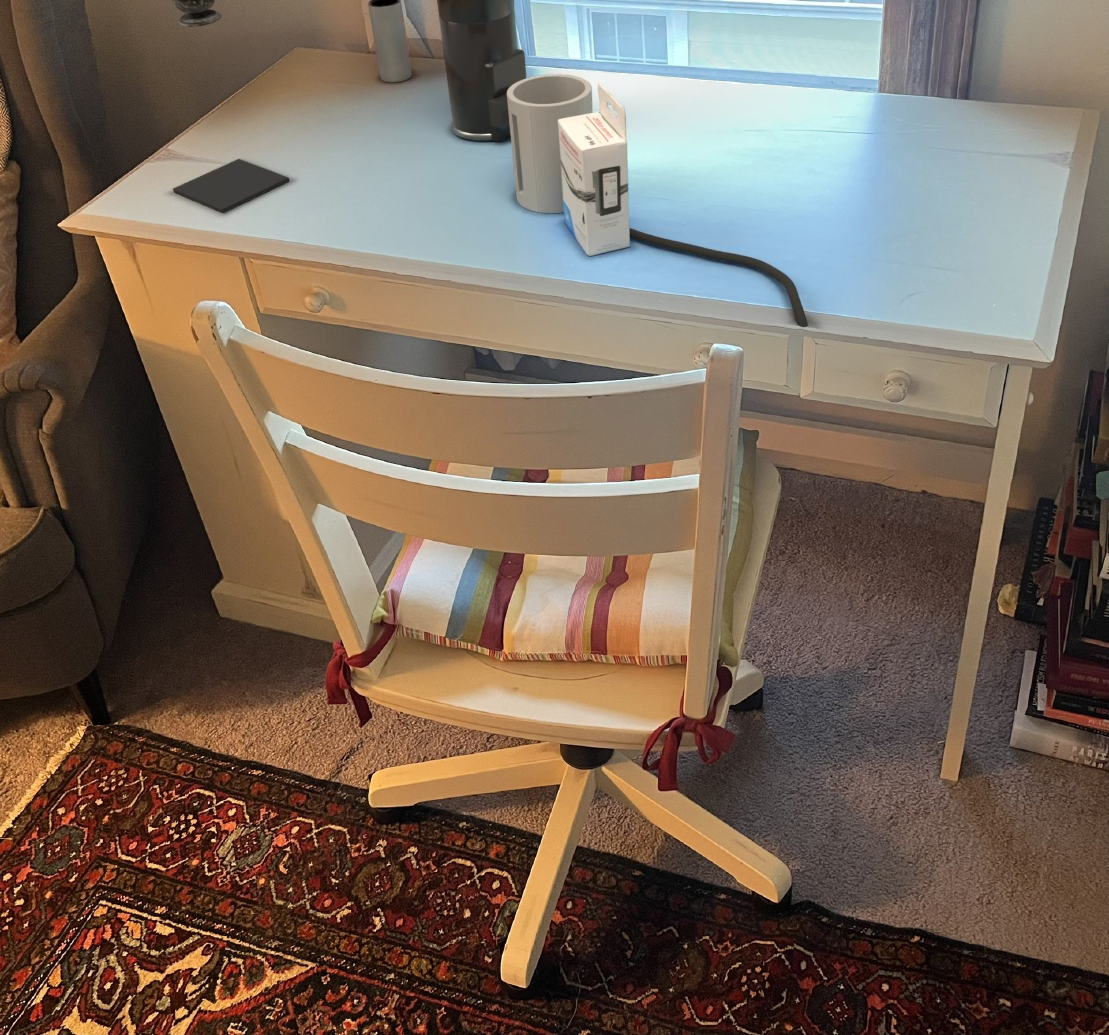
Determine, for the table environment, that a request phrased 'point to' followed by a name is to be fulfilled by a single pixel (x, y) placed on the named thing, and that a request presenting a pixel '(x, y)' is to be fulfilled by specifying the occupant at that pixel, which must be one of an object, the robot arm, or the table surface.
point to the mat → (231, 185)
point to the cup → (542, 135)
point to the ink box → (596, 176)
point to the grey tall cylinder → (390, 40)
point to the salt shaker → (196, 12)
